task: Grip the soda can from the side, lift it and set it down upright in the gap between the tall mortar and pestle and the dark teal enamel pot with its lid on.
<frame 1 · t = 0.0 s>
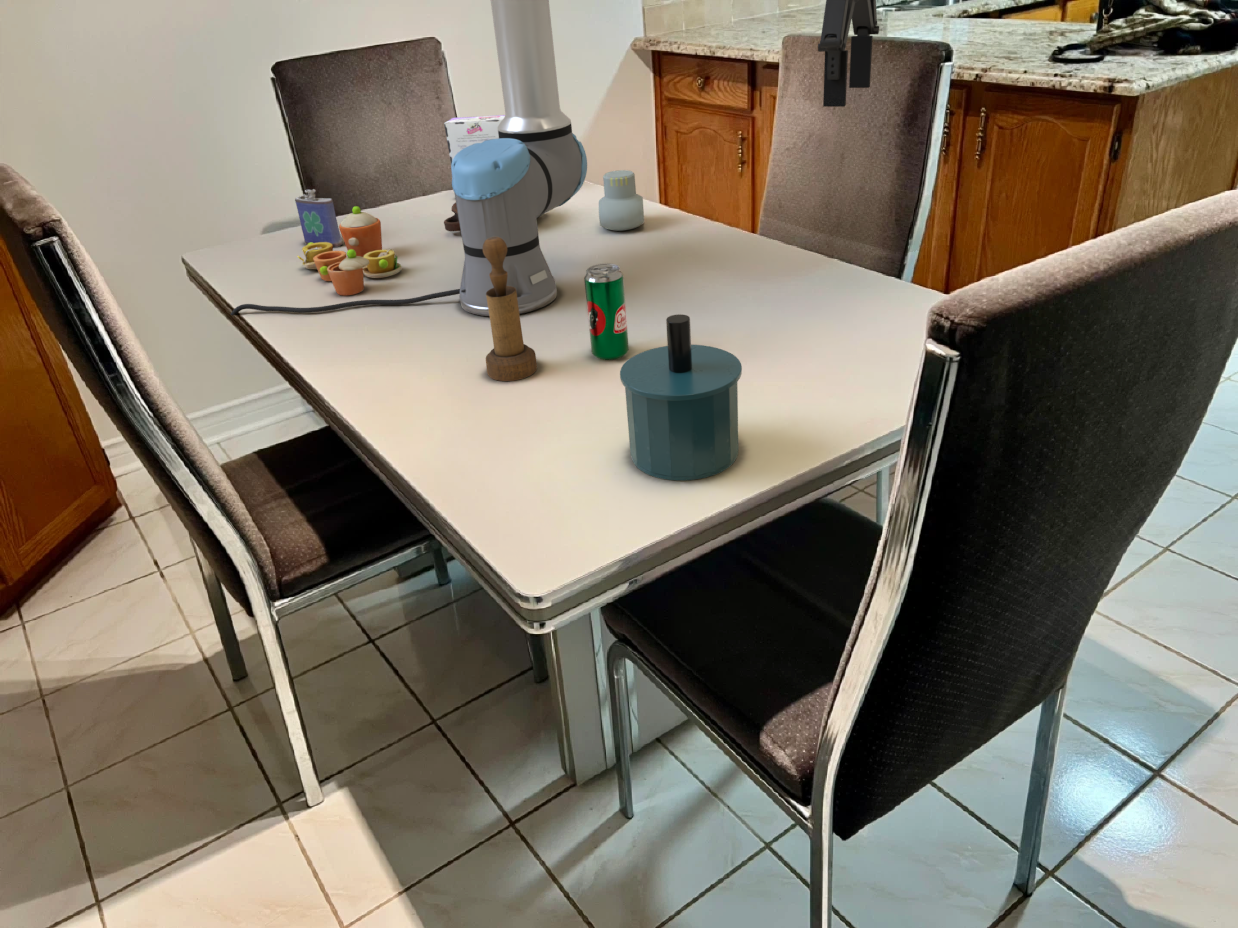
hand: (847, 96, 125), 28 cm above the table, tool pointing down, fingers open, 13 cm apart
mortar and pestle: (512, 372, 125), on the table
dish: (500, 227, 186), on the table
candy box: (489, 195, 209), on the table
toy tea set: (356, 274, 167), on the table
flask: (323, 245, 185), on the table
pot lid: (680, 373, 98), point 9 cm above the table, touching pot
pot: (684, 453, 102), on the table
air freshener: (622, 227, 179), on the table
soda can: (610, 355, 127), on the table
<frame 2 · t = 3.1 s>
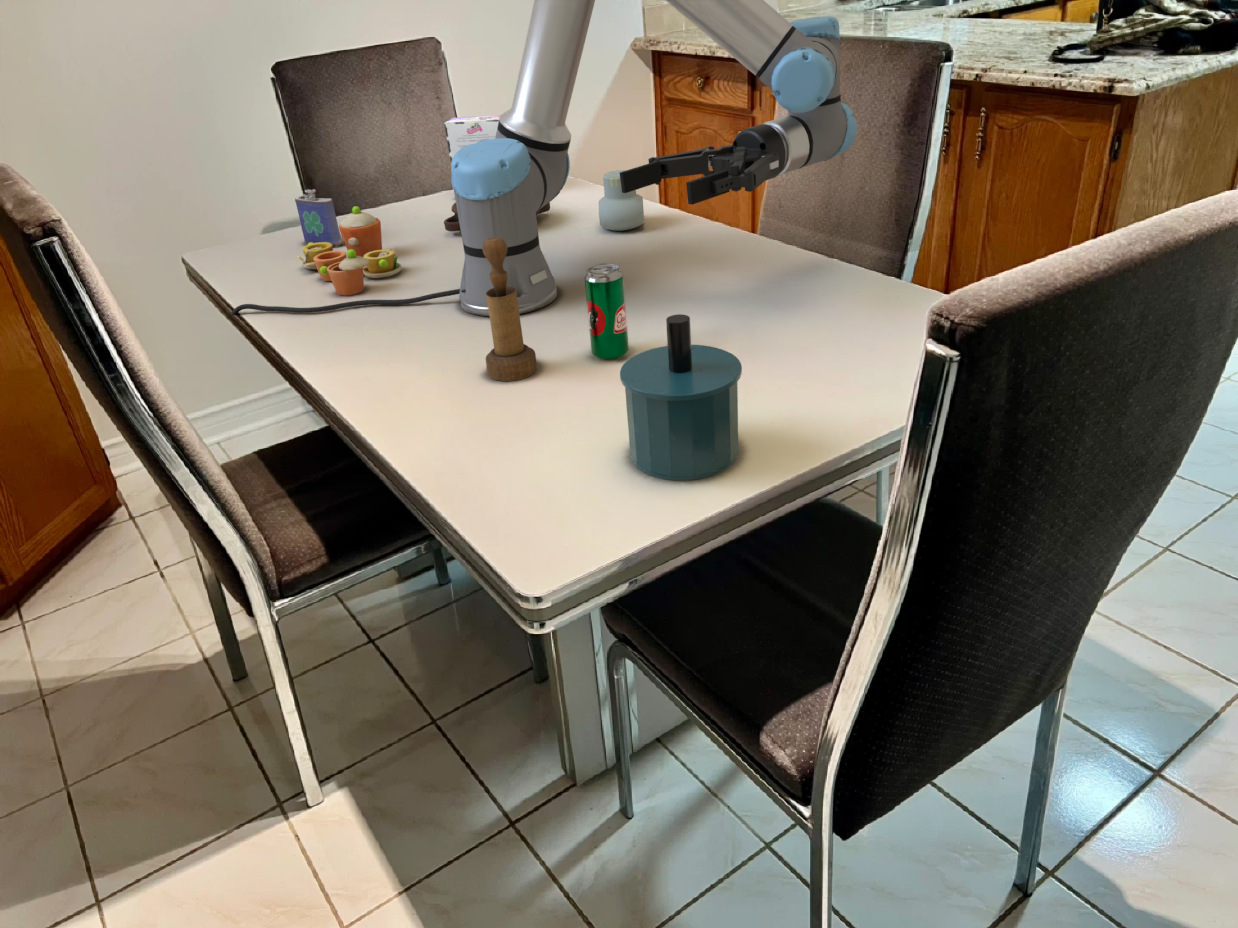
hand: (654, 188, 122), 20 cm above the table, tool horizontal, fingers open, 13 cm apart
nothing on the table moved.
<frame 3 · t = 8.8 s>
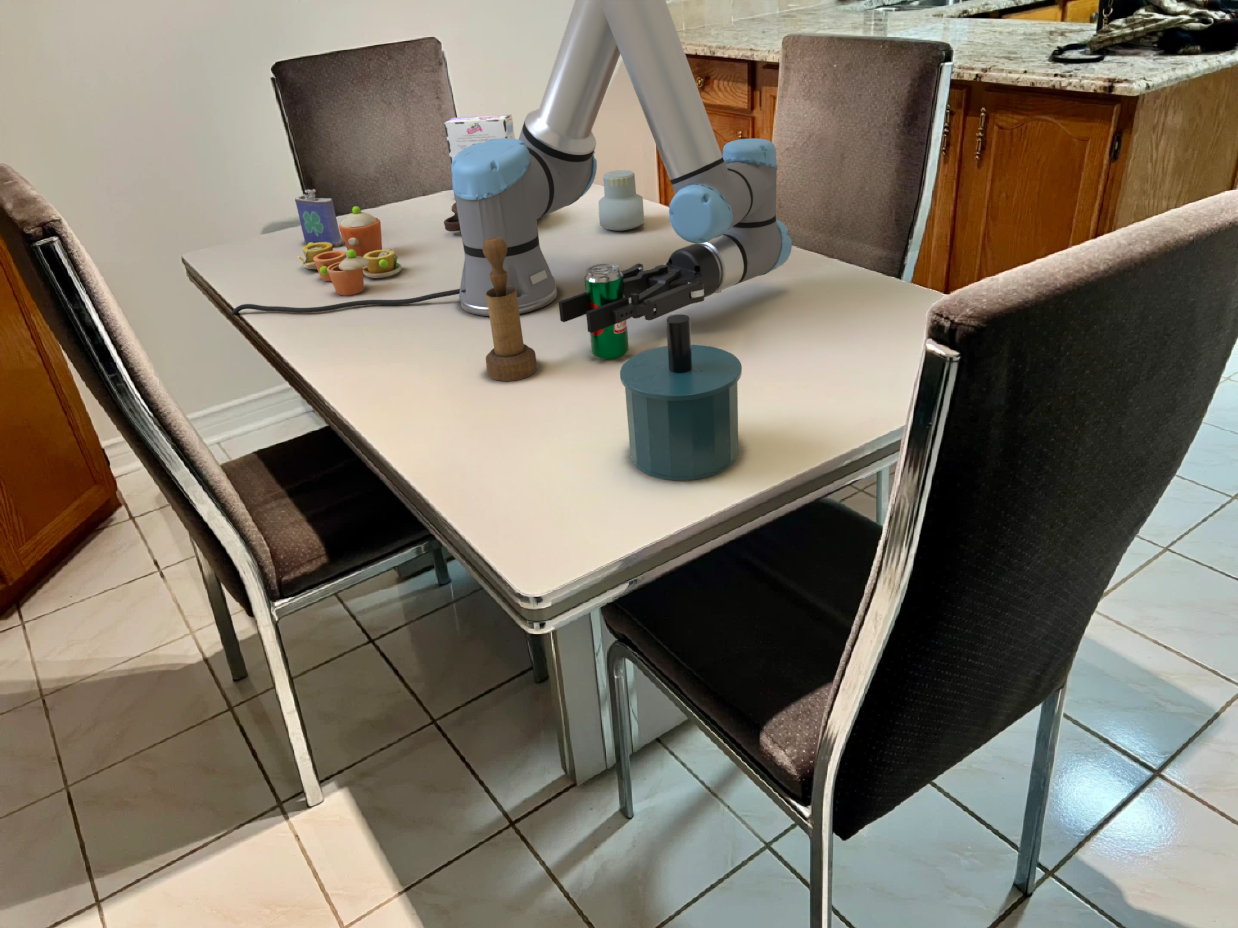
hand: (575, 317, 121), 7 cm above the table, tool horizontal, fingers closed on soda can, 5 cm apart
soda can: (610, 355, 127), on the table, touching gripper
everything else where it was.
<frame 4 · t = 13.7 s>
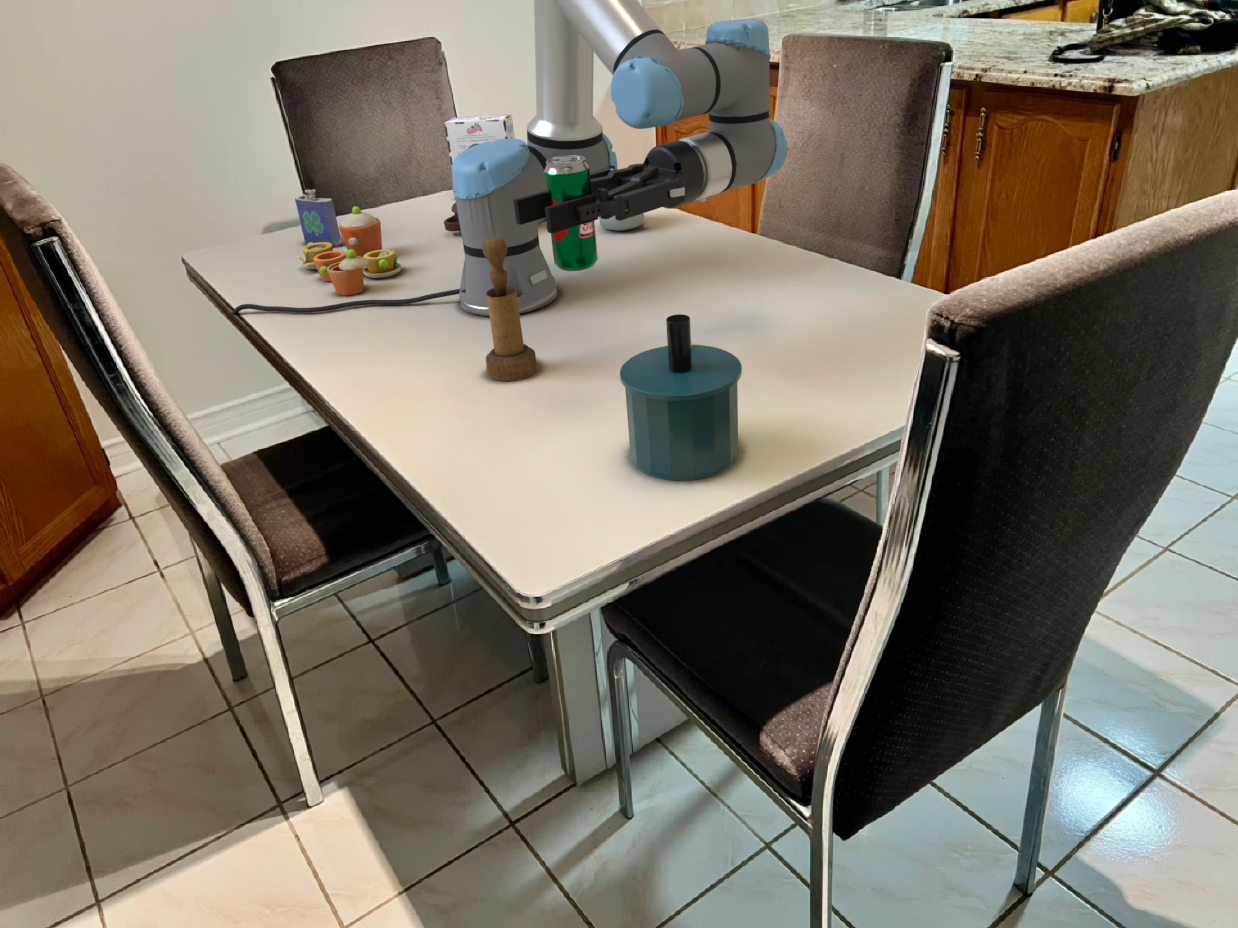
hand: (532, 216, 102), 23 cm above the table, tool horizontal, fingers closed on soda can, 5 cm apart
soda can: (576, 267, 109), point 16 cm above the table, touching gripper
everything else where it was.
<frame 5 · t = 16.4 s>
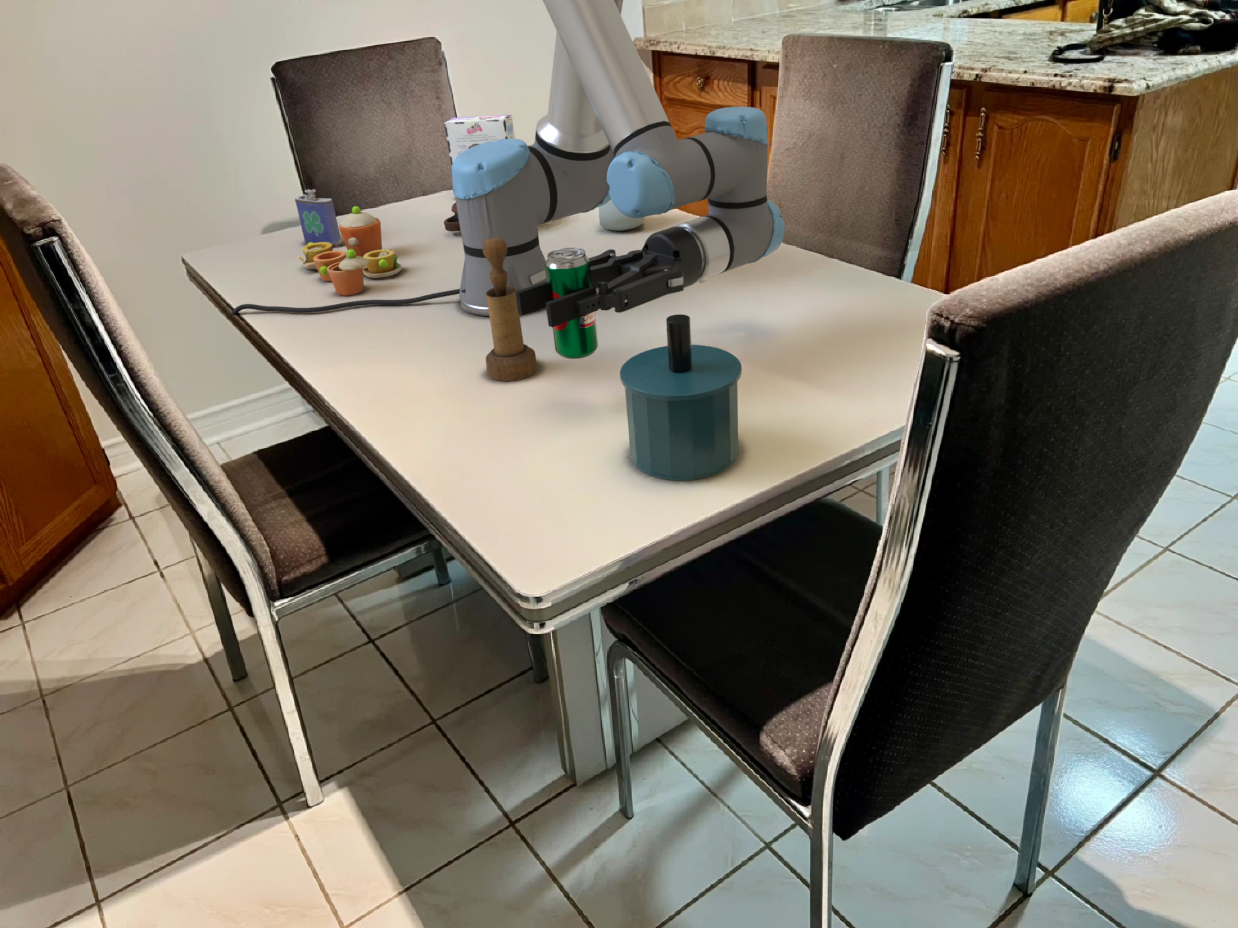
hand: (534, 309, 105), 14 cm above the table, tool horizontal, fingers closed on soda can, 5 cm apart
soda can: (577, 353, 111), point 7 cm above the table, touching gripper
everything else where it was.
when the fingers open (7 cm above the table, at t = 18.6 s): soda can stays where it is, on the table.
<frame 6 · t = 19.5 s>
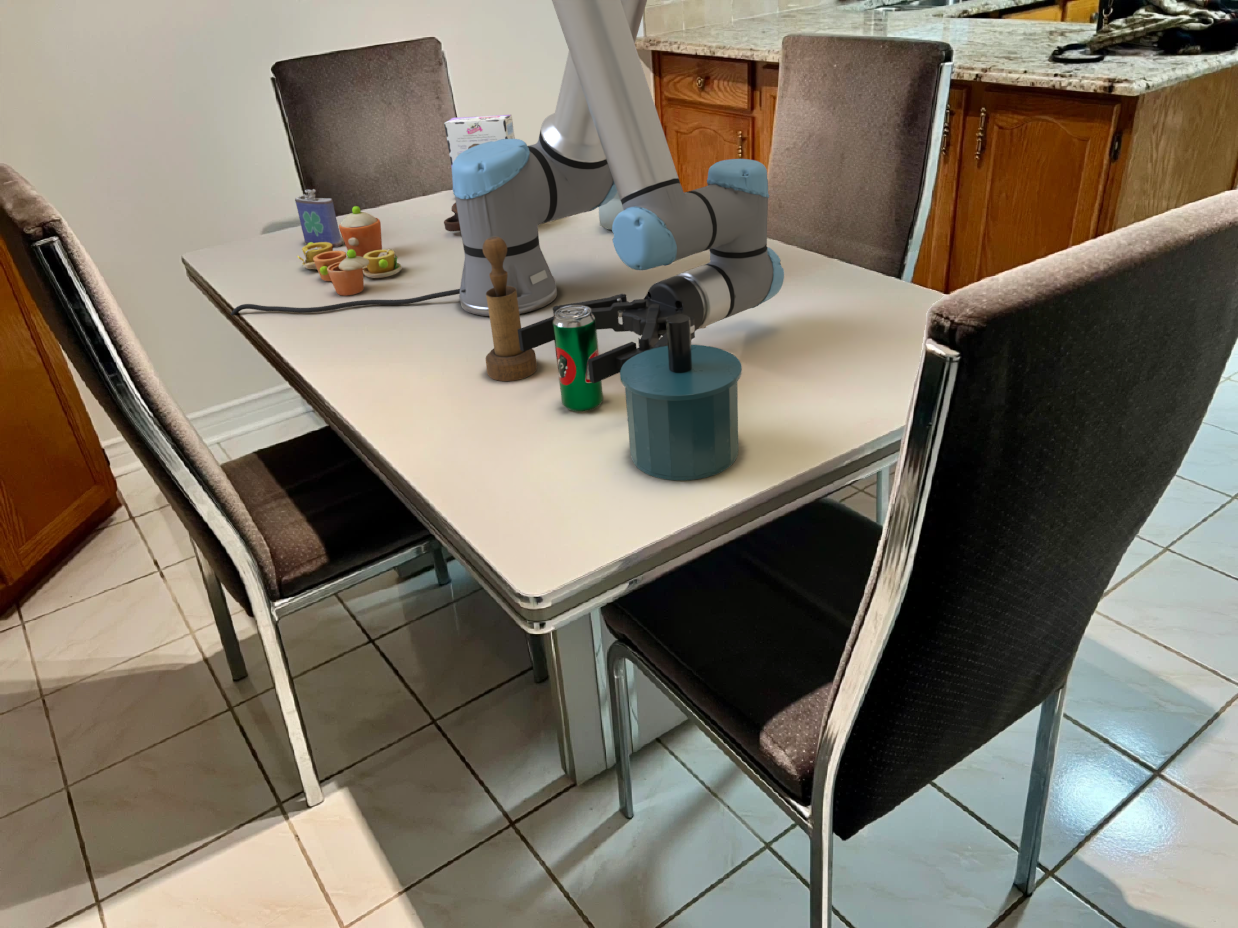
hand: (553, 355, 109), 8 cm above the table, tool horizontal, fingers open, 13 cm apart
soda can: (583, 405, 115), on the table
everything else where it was.
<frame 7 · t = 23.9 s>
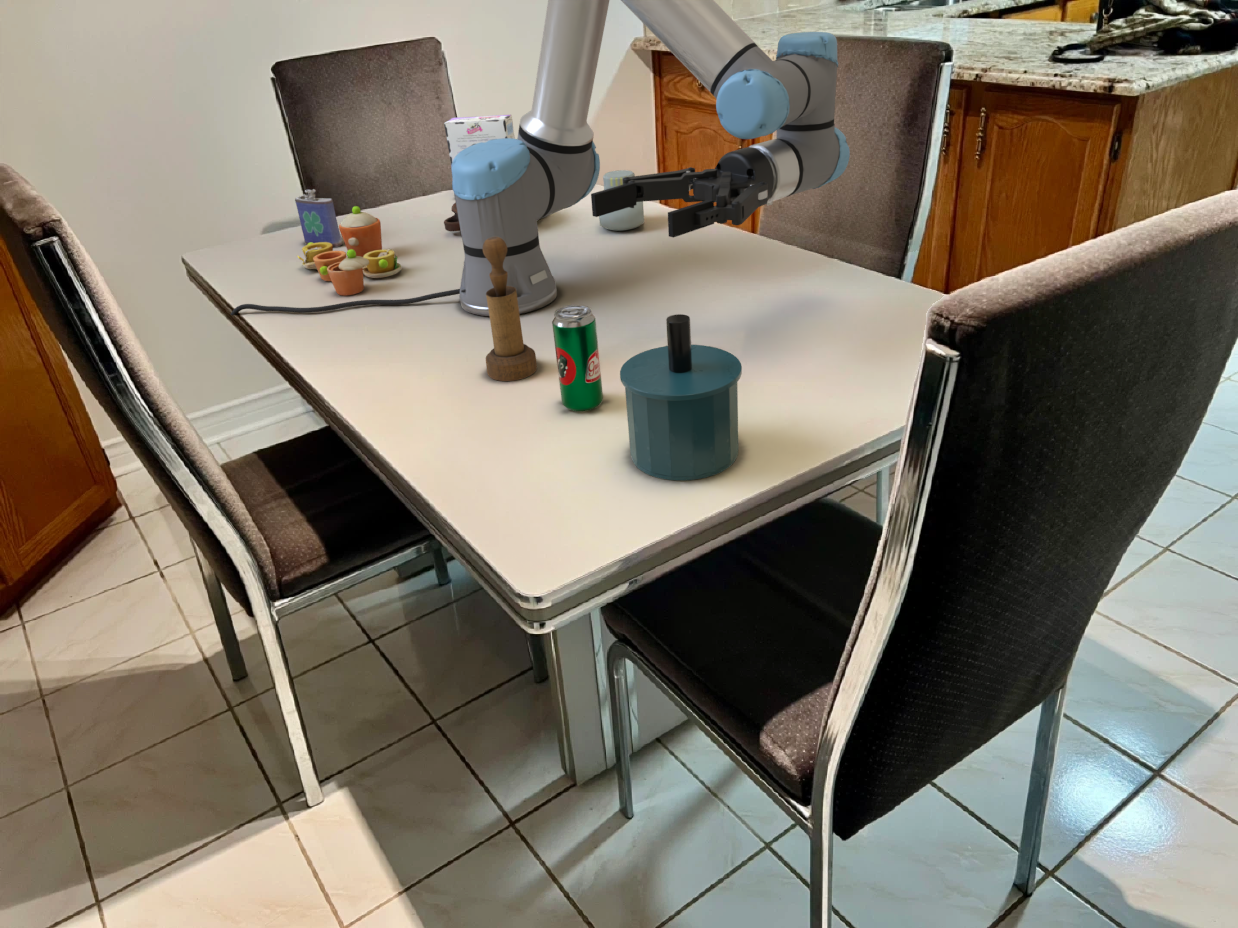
hand: (630, 214, 109), 21 cm above the table, tool horizontal, fingers open, 13 cm apart
nothing on the table moved.
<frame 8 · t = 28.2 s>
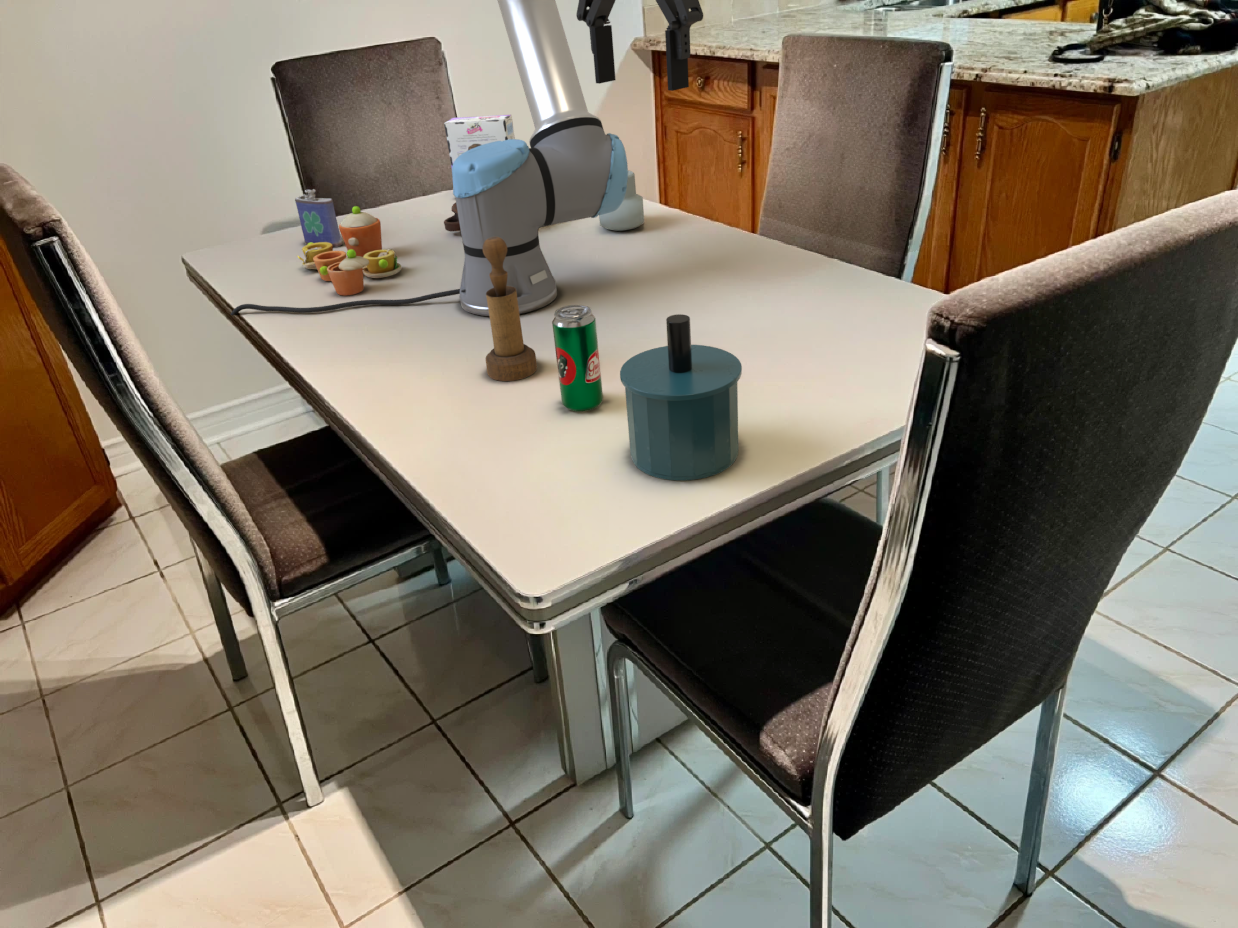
hand: (640, 85, 117), 33 cm above the table, tool pointing down, fingers open, 13 cm apart
nothing on the table moved.
at the end: soda can inside the target area (0.1 cm from its centre), on the table; soda can tilted 0°; the gripper is holding nothing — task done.
